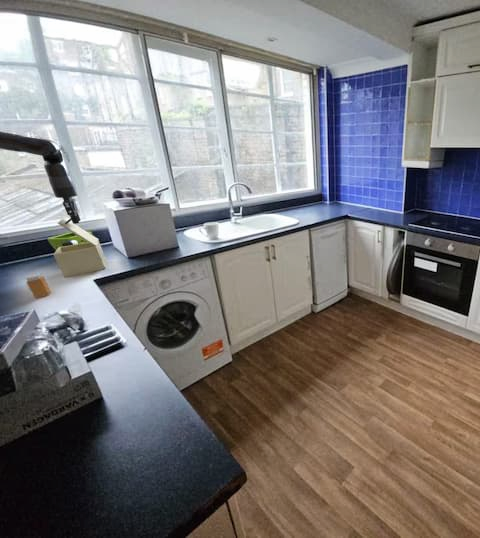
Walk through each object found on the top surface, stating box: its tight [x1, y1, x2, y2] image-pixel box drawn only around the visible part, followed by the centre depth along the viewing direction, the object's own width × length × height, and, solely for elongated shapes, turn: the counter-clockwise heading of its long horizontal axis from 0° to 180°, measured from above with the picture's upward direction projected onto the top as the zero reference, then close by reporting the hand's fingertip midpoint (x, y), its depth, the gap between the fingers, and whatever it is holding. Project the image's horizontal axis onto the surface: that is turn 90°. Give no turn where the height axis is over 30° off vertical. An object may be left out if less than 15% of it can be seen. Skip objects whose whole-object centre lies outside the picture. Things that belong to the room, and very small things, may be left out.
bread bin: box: [53, 240, 108, 278], centre depth 148 cm, size 16×14×12 cm
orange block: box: [25, 273, 52, 299], centre depth 122 cm, size 4×4×9 cm
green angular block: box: [47, 231, 93, 251], centre depth 167 cm, size 14×14×13 cm
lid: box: [57, 215, 99, 247], centre depth 145 cm, size 16×14×6 cm
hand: (77, 222), depth 142 cm, fingers closed on lid, 5 cm apart
